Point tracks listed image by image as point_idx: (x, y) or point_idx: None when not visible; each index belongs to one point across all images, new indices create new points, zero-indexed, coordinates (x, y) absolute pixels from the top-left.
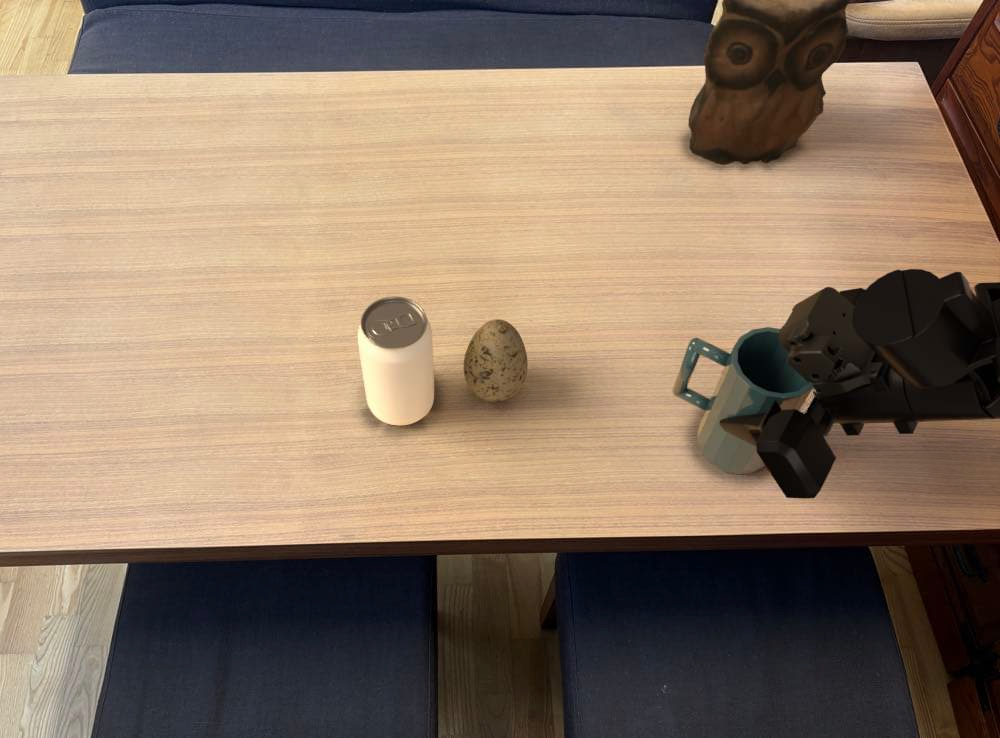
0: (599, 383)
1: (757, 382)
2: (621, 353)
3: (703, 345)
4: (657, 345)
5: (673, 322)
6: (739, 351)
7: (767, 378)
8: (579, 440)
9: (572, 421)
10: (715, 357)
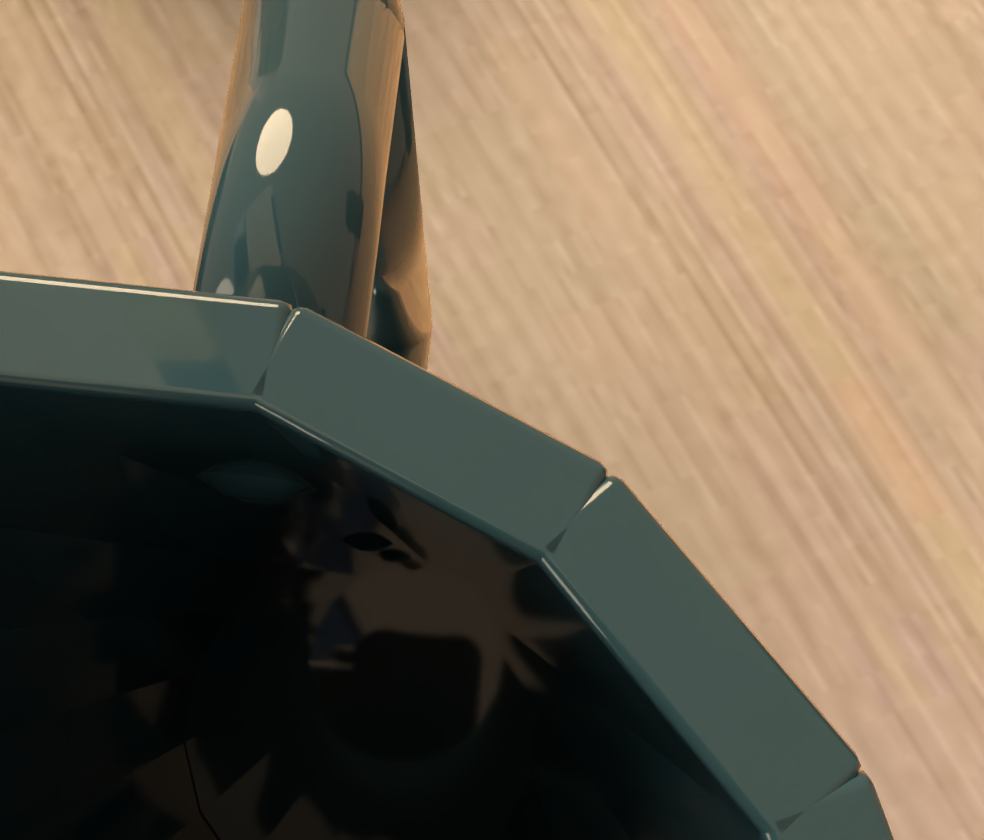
0: None
1: (571, 749)
2: (585, 67)
3: (271, 54)
4: (715, 191)
5: (881, 210)
6: (320, 471)
7: (584, 831)
8: (44, 72)
9: (128, 12)
10: (203, 255)
